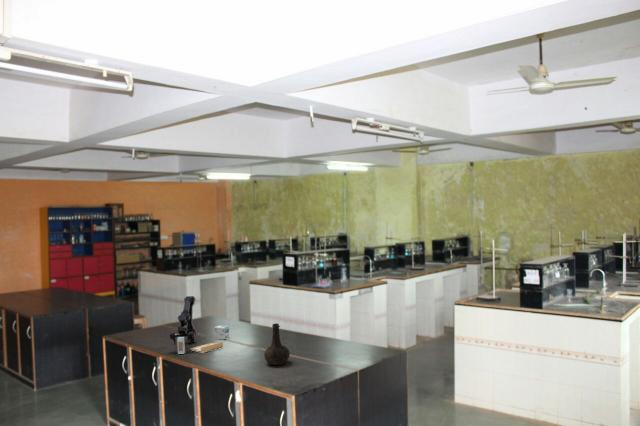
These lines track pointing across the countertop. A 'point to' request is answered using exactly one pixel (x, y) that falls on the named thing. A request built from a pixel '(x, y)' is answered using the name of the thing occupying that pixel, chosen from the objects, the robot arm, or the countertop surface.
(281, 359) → the glass bottle
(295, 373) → the countertop surface
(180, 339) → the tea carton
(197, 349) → the shelf board
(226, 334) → the light bulb box
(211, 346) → the price rail
